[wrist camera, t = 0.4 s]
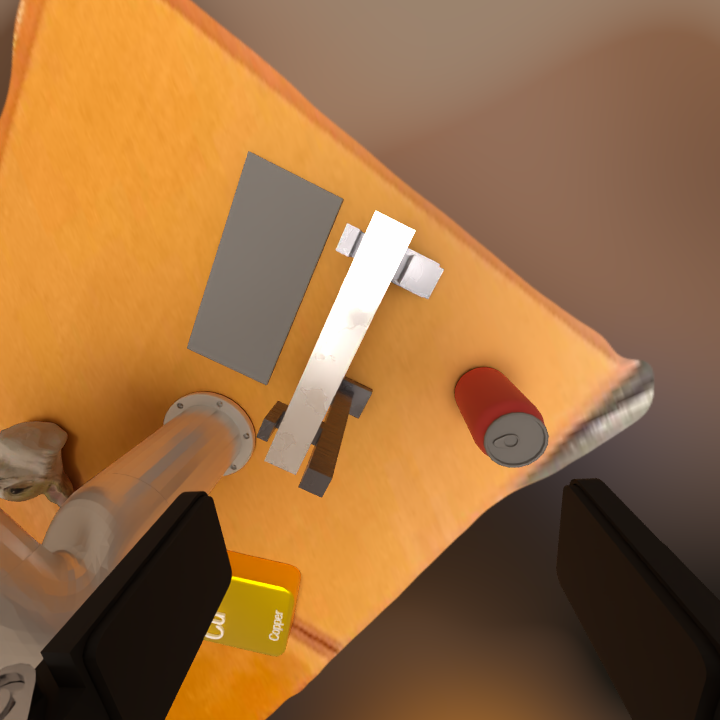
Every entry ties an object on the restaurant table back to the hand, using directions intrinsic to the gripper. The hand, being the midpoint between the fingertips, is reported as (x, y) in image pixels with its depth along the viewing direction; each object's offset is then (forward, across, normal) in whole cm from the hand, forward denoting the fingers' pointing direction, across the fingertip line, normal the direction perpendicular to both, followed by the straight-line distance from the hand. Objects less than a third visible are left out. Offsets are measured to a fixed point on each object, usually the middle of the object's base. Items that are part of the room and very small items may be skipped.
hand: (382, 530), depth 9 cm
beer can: (+32, -11, +10) cm, 35 cm away
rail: (+20, +4, 0) cm, 21 cm away
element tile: (+33, +25, +43) cm, 60 cm away
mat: (+32, +14, -6) cm, 36 cm away
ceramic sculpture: (+33, +51, +16) cm, 63 cm away
